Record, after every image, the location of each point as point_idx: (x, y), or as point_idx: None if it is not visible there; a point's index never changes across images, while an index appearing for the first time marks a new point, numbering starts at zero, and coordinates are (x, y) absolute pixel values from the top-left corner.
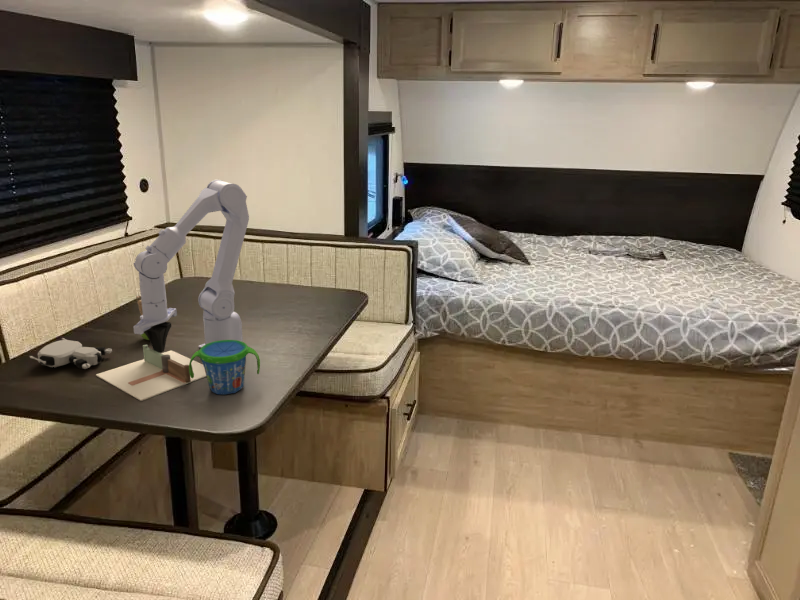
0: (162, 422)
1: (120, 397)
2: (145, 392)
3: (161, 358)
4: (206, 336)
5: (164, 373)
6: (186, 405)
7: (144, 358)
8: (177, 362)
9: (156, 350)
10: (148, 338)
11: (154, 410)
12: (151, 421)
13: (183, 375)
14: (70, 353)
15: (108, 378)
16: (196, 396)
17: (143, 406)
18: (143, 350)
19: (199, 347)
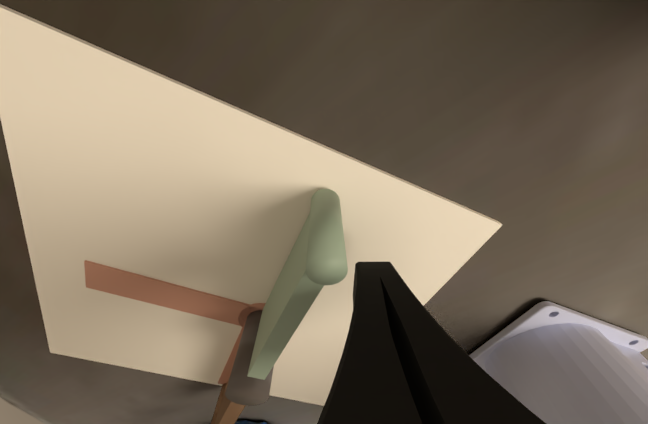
0: (40, 412)
1: (5, 292)
2: (91, 341)
3: (233, 376)
4: (544, 407)
5: (240, 323)
6: (132, 414)
7: (312, 205)
8: (234, 420)
9: (355, 285)
10: (343, 352)
11: (56, 386)
12: (20, 400)
13: (222, 399)
14: None
15: (30, 143)
16: (181, 412)
17: (43, 363)
18: (308, 239)
19: (532, 308)
